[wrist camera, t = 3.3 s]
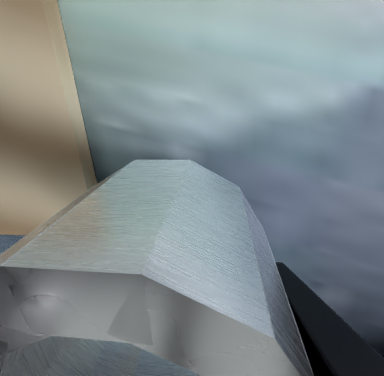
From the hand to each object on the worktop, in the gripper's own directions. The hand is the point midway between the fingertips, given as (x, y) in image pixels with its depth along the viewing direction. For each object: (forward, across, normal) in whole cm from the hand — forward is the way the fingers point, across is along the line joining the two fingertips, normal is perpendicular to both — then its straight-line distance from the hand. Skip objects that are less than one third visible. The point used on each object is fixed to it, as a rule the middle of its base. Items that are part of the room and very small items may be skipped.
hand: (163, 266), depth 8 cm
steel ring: (+1, 0, 0) cm, 1 cm away
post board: (+5, +11, -4) cm, 13 cm away
